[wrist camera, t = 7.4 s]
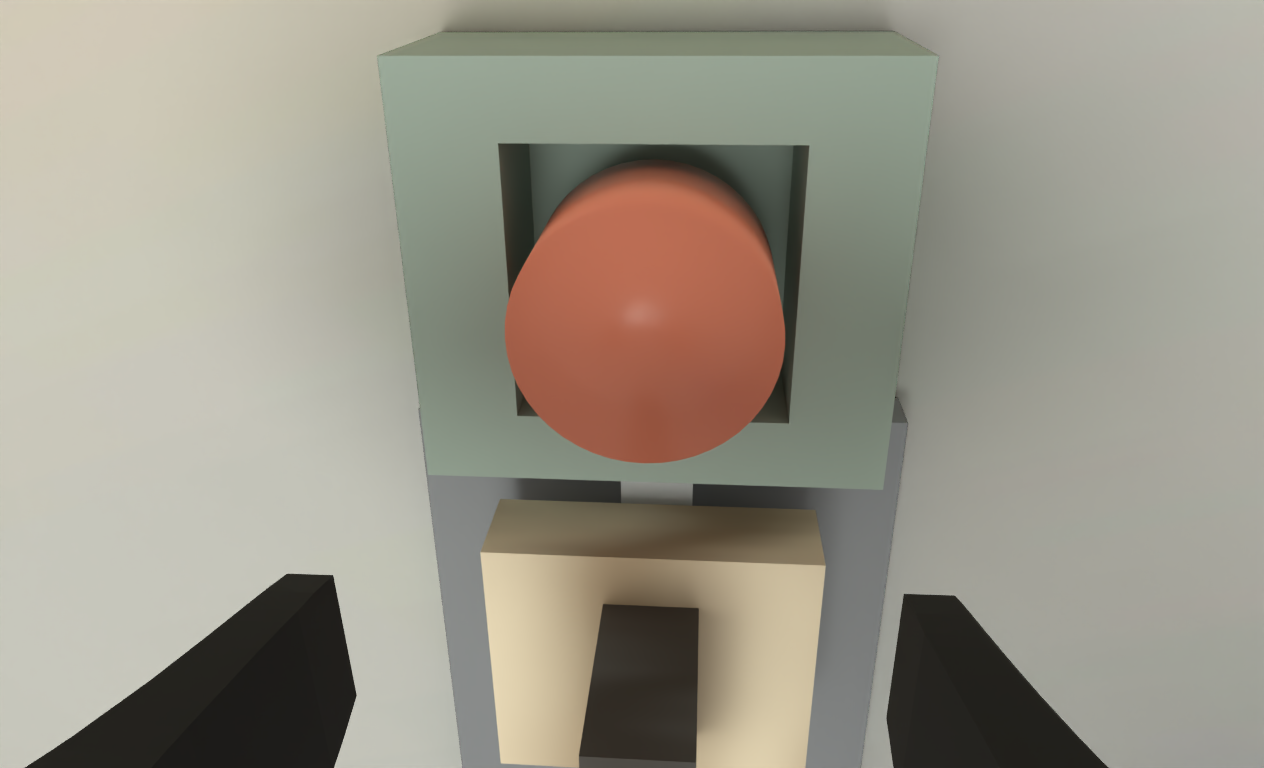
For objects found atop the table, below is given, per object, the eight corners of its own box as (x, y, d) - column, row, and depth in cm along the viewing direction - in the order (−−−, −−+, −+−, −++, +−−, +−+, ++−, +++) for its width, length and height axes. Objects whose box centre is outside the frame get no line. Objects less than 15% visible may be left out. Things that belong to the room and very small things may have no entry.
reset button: (780, 160, 16) (795, 205, 13) (766, 387, 18) (777, 467, 15) (529, 157, 16) (494, 203, 14) (542, 381, 18) (513, 459, 16)
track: (898, 398, 22) (915, 440, 20) (832, 906, 29) (839, 969, 28) (432, 386, 22) (408, 426, 21) (489, 884, 30) (475, 944, 28)
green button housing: (893, 30, 18) (939, 55, 15) (854, 397, 22) (882, 489, 18) (440, 31, 19) (377, 55, 15) (473, 387, 22) (428, 475, 19)
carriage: (815, 510, 20) (852, 717, 15) (796, 713, 23) (823, 952, 18) (500, 498, 21) (427, 696, 16) (516, 700, 24) (459, 927, 18)
